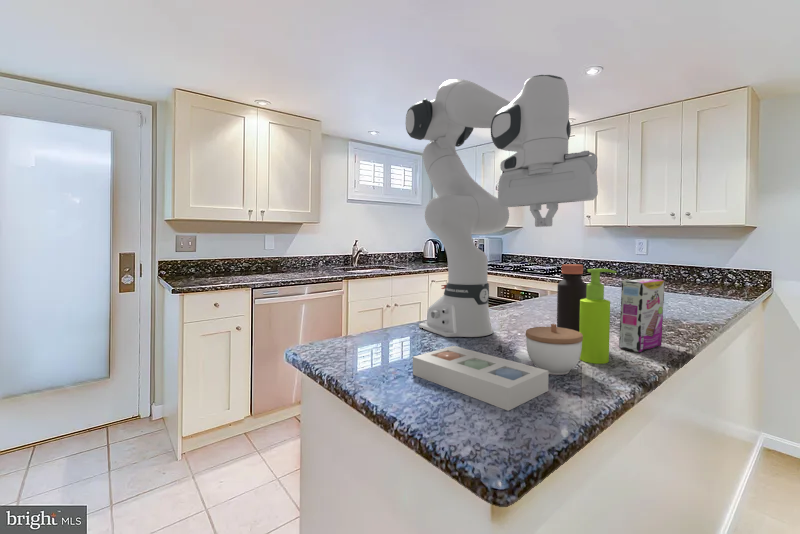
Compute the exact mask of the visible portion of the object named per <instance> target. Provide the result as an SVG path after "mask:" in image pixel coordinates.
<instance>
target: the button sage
mask: <svg viewBox="0 0 800 534" xmlns="http://www.w3.org/2000/svg"><path fill="white" fill-rule="evenodd" d="M464 366H468V367H471V368H474V369H478V370H480V369H483V368H486V367H488V366H489V364H488V362H486V361H483V360H467V361H465V362H464Z"/></svg>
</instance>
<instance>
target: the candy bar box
mask: <svg viewBox="0 0 800 534" xmlns="http://www.w3.org/2000/svg"><path fill="white" fill-rule="evenodd" d="M665 285H666V281H665V280H663V279H656V278H655V279H654V278H653V279H652V278H639V279H630V280H629V279H628V280H622V281H621V294H620V298H621V299H620V319H619V321H620V323H619V338H618V340H619V342H618V344H619V345H618V348H619V349H622V350H627V351H630V352H634V353H641V352H645V351H648V350H651V349H653V348H658V347H661V346H662V342H663V341H662V339H663V338H662V337H663V319H664V305H665V304H664V303H665Z"/></svg>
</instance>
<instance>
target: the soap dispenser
mask: <svg viewBox="0 0 800 534" xmlns="http://www.w3.org/2000/svg"><path fill="white" fill-rule="evenodd" d="M617 272H618V271H617V270H614V269H608V268H601V267H600V268H598V267H597V268H587V273H590V282H588V283H587V284H586V285H587V291H586V298H585V299H581V300H580V325H579V332H580V333H582V335H583V340H582V351H581V356H580V359H579V361H582V362H585V363H589V364H593V365H594V364H597V365H603V364H604V365H605V364H608V363H609V362H610V332H611V331H610V329H611V324H610V323H611V316H610V315H611V301H610V300H608V299H605V284H603V283H602V282H601V279H600V278H601V273H613V274H616V273H617Z"/></svg>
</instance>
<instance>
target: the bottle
mask: <svg viewBox="0 0 800 534" xmlns="http://www.w3.org/2000/svg"><path fill="white" fill-rule="evenodd" d="M583 274H584V264H577V263H576V264H575V263H573V264H572V263H568V264H567V263H566V264H561V276H562V279H561V280H560V281H559V282H558V283H557V286H556V287H557V288H556V289H557V290H556V291H557V294H556V295H557V297H556V303H557V305H556V308H557V309H556V327H560V328H567V329H572V330H575V331H578V332H579V325H580V300H581V299H585V298H586V291H587V284H586V282H584V280H583V279H582V276H583Z"/></svg>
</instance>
